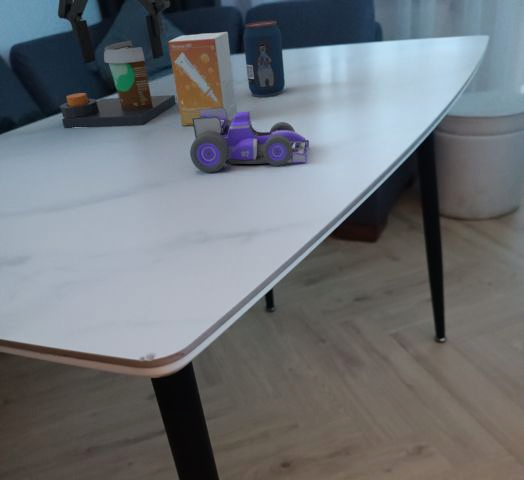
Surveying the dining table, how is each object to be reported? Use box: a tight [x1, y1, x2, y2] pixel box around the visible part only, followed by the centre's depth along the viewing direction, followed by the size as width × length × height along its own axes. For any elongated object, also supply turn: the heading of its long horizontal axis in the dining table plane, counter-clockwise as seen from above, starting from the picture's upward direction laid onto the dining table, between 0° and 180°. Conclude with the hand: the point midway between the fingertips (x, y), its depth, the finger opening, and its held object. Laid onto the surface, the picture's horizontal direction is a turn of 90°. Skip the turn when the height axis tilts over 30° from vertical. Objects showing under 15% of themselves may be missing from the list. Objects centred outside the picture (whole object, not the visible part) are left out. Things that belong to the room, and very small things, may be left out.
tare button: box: [65, 92, 89, 106], centre depth 108 cm, size 4×4×2 cm
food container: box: [103, 40, 153, 110], centre depth 107 cm, size 12×6×10 cm, turn 20°
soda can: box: [243, 20, 286, 98], centre depth 112 cm, size 7×7×12 cm
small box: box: [167, 31, 238, 127], centre depth 98 cm, size 8×6×13 cm
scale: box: [59, 94, 177, 129], centre depth 111 cm, size 17×15×4 cm
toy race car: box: [189, 108, 310, 174], centre depth 80 cm, size 10×15×6 cm, turn 83°
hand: (123, 59), depth 106 cm, fingers open, 13 cm apart
